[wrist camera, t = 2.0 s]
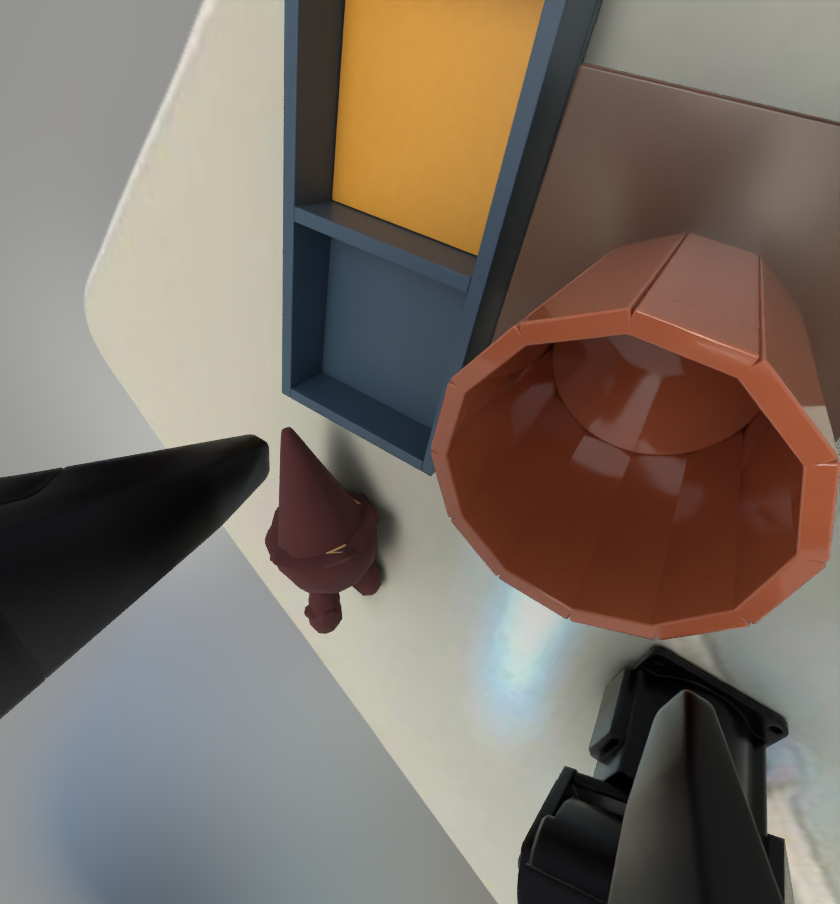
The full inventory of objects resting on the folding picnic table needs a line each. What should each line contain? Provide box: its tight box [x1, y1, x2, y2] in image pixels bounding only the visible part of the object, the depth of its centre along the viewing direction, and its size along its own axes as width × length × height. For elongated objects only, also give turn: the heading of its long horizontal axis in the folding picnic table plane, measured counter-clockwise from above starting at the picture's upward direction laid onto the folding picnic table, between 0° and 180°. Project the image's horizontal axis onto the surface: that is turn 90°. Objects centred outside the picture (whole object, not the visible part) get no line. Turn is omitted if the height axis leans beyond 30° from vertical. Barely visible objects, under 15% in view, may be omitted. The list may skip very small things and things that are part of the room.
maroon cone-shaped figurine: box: [265, 427, 381, 634], centre depth 29 cm, size 7×7×15 cm
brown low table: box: [491, 63, 840, 442], centre depth 15 cm, size 10×12×4 cm
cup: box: [431, 232, 840, 640], centre depth 11 cm, size 7×7×8 cm
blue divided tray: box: [282, 0, 602, 476], centre depth 19 cm, size 9×18×3 cm, turn 167°
